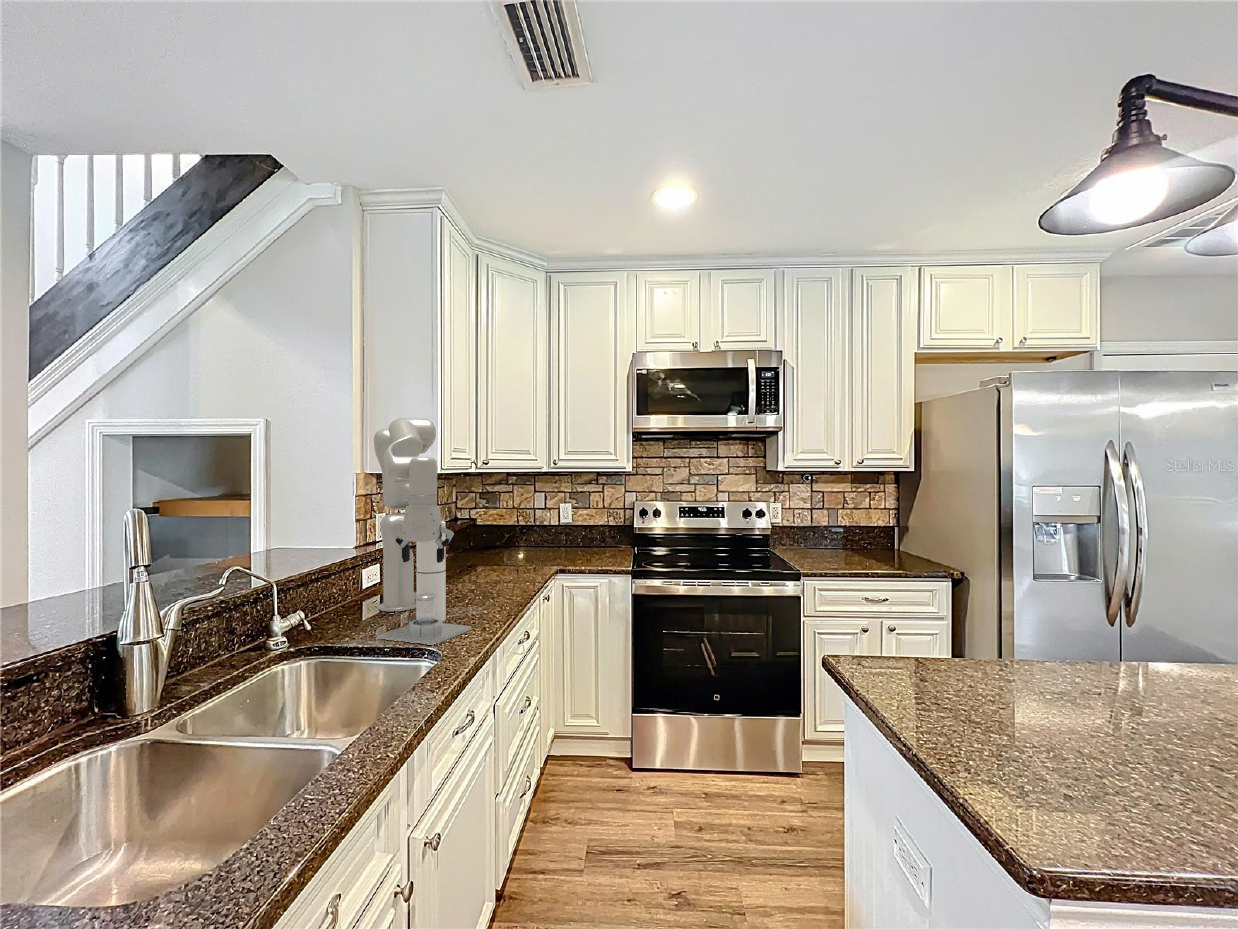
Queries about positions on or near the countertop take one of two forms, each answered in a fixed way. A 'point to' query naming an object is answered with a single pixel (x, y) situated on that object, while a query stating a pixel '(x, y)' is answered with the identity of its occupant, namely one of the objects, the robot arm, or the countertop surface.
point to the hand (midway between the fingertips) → (423, 561)
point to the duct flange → (425, 632)
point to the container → (432, 574)
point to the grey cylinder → (425, 609)
